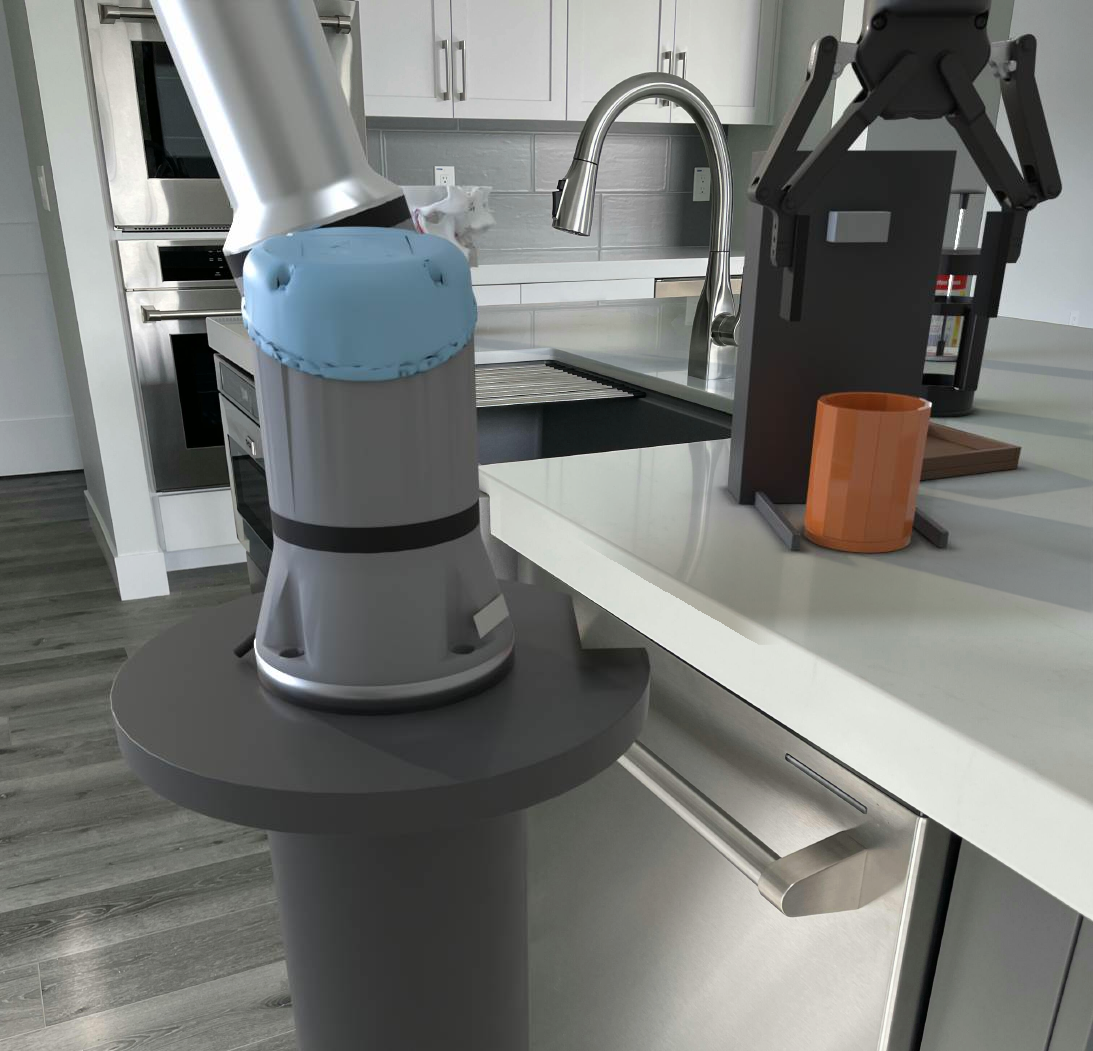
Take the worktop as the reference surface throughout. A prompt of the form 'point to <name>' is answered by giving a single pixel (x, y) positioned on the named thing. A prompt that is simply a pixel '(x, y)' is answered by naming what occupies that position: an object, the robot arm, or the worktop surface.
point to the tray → (964, 453)
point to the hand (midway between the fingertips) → (887, 318)
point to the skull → (452, 214)
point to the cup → (865, 470)
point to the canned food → (952, 321)
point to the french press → (958, 389)
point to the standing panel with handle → (836, 315)
